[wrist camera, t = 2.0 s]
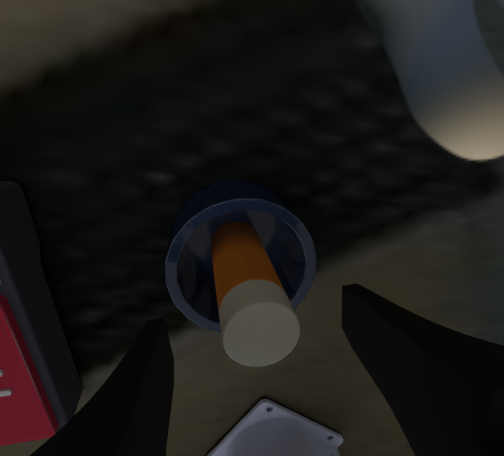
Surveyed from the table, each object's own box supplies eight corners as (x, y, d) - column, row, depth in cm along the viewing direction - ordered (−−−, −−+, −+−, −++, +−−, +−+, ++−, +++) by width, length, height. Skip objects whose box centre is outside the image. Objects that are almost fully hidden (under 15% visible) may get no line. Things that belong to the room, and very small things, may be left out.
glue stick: (268, 238, 20) (316, 326, 13) (238, 274, 21) (266, 378, 13) (231, 211, 19) (257, 288, 12) (200, 249, 20) (205, 347, 12)
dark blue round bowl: (318, 227, 21) (345, 254, 18) (243, 313, 23) (253, 354, 19) (223, 151, 18) (230, 165, 15) (144, 254, 20) (133, 290, 16)
